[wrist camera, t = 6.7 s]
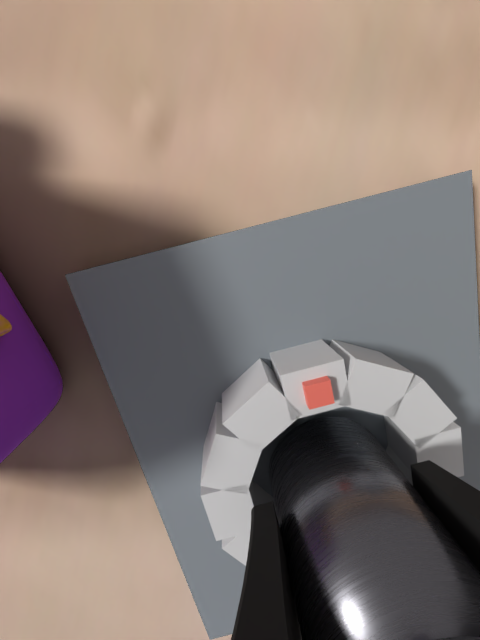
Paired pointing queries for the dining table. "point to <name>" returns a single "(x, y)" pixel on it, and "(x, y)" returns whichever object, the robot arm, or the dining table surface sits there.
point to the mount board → (272, 307)
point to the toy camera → (23, 374)
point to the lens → (366, 542)
